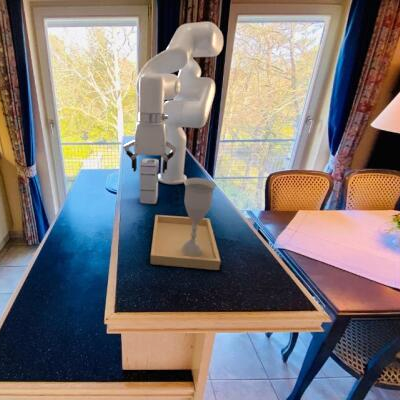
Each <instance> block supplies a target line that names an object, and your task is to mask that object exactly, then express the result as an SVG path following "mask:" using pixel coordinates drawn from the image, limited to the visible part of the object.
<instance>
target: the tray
mask: <svg viewBox="0 0 400 400" xmlns="http://www.w3.org/2000/svg"><path fill="white" fill-rule="evenodd" d="M192 225H193V221H192V220H190V218H189V216H178V215H163V214H155V216H154V224H153V233H152V240H151V241H152V242H151V250H150V251H151V252H150V265H156V266H157V265H158V266H166V267H167V266H169V267H179V268H188V269H189V268H190V269H201V270H210V271H219V270H220V266H221V258H220V253H219V249H218V246H217V242H216V239H215V234H214V230H213V227H212V223H211V219H210V218H206V217H204V218H203V219H202V220H201V221H200V222H197V227H198V229H197V230H196V233H197V236H196V237H195V240H196V241H197V242H198V243H199V244H200V247H201V250H202V254H201V255H200V256H198V257H190V256H187V255H185V254H184V253H183V252H182V247H183V246H184V244H185V242H186V241H188V240H191V235H190V233H191V232H192V228H191V226H192Z"/></svg>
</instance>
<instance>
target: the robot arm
mask: <svg viewBox="0 0 400 400" xmlns="http://www.w3.org/2000/svg"><path fill="white" fill-rule="evenodd" d="M223 47H224V35H223V33H222V30H220V27H218V26H217V24H215V23H214V22H213V21H212V22H211V21H200V22H197V21H196V22H187V23H183V24H181V25H180V26H179V27H177V28H176V31H175V32H174V34H173V36H172V38H171V40H170V42H169V44H168V45H167V47H166V49H165V50H163V51H161V52H159V53H157V54H156V55H155V56H153V57H152V58H150V59H149V60H148V61H147V62H146V63H145V64H144V65H143V67H142V68H141V70H140V71H139V73H138V76H137V78H136V82H135V92H136V94H137V96H138V122H136V125H135V131H134V140H132V141H130V142H128V143H126V144H124V145H123V149H124V151H125V153H126V155H127V156H128V157H129V159H130V160H131V169H133V172H137V168H138V167H137V166H138V158H137V157H138V155H139V156H161V157H160V172H159V173H158V183H159V182H160V183H162V184H166V185H180V184H184V181H185V180H186V179H188V177H187V175H186V174H184V173H185V161H186V151H187V150H186V149H187V134H186V132H185V131H184V129H183V128H192V129H202V128H203V127H204V126H205V125H206V123H207V121H208V119H209V115H210V112H211V109H212V105H213V101H214V98H215V94H216V82H215V81H214V79H212V78H211V77H207V76H206V77H205V76H201V75H202V69H201V67H200V64H198V62H197V61H196V60H195V59H194V58H209V57H210V58H212V57H213V58H214V57H217V56H218V55H220V53H221V52H222V50H223ZM178 71H179V72H178ZM175 72H176V73H177V72H178V75H176V74H174V73H175ZM166 100H167V101H166ZM131 147H133V152H132V151H131V150H130V148H131Z"/></svg>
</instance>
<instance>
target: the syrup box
mask: <svg viewBox="0 0 400 400" xmlns="http://www.w3.org/2000/svg"><path fill="white" fill-rule="evenodd" d="M159 160H160V159H158V158H142V159H141V161H140V163H139V203H140V204H148V205H156V204H157V201H158V198H159V196H158V195H159V181H158V174H159Z"/></svg>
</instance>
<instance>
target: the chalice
mask: <svg viewBox="0 0 400 400" xmlns="http://www.w3.org/2000/svg"><path fill="white" fill-rule="evenodd" d="M183 184H184V186H185V187H184V188H185V190H184V200H183V202H184V207H185V210H186V213H187V215H188V217H189V218H190V220H192V221H193V225H192V226H191V228H192V232H191V233H190V235H191V240H188V241H186V242H185V244H184V246H183V247H182V252H183V253H184V254H185V255H187V256H190V257H198V256H200V255H201V254H202V250H201V247H200V244H199V243H198V242H197V241H196V240H195V237H196V236H197V233H196V230H197V229H198V227H197V222H200V221H201V220H202V219H203V218H205V216H206V215H207V214H208V212H209V211H210V209H211V208H212V201H213V195H214V190H215V189H216V188H217V184H216V183H215V182H214V181H212V180H210V179H207V178H203V177H190V178H189V177H188V178H187V179H186V180H185V181H184V183H183Z"/></svg>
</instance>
